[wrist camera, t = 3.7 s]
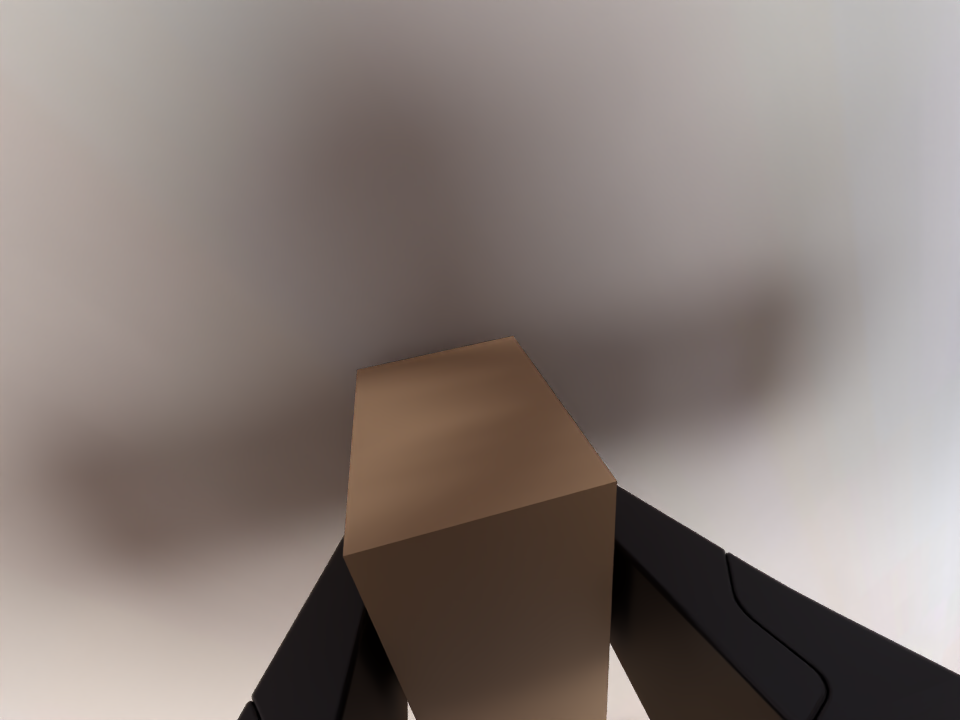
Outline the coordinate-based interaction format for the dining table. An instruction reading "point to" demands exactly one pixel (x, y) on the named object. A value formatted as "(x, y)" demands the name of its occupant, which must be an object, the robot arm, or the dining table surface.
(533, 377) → the batten
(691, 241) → the dining table surface
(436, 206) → the dining table surface
